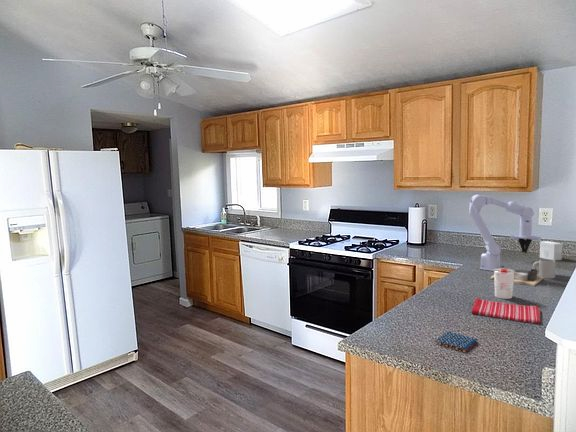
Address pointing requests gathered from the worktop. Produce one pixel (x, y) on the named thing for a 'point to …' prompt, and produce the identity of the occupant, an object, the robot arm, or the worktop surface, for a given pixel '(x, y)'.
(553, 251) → the skincare box
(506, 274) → the canister
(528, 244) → the robot arm
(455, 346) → the woven mat
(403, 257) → the worktop surface
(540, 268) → the cup
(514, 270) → the retention strap
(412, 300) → the worktop surface
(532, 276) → the board
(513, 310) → the dish towel
